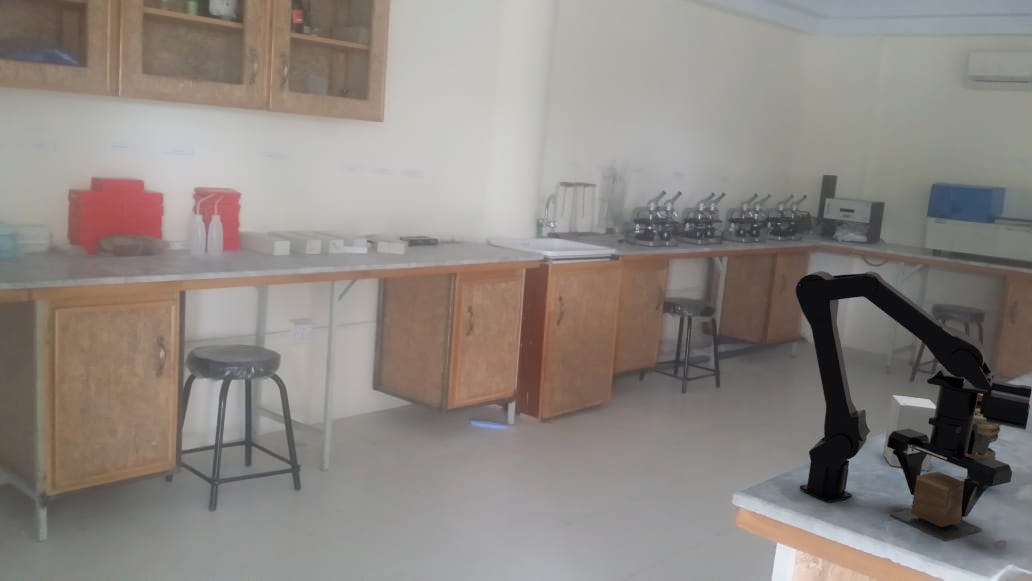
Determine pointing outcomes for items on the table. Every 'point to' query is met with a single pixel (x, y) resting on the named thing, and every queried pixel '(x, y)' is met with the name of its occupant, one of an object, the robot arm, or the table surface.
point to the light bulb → (985, 434)
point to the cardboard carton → (938, 499)
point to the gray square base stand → (935, 530)
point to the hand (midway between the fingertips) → (938, 505)
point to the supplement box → (909, 422)
